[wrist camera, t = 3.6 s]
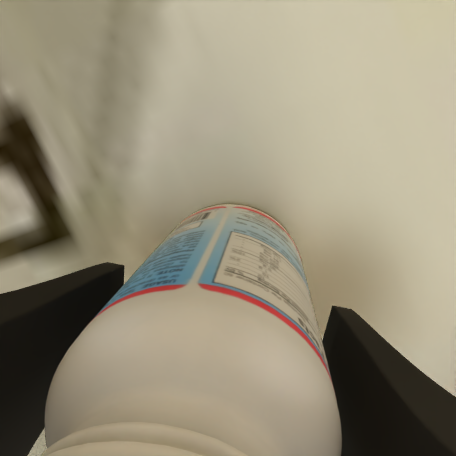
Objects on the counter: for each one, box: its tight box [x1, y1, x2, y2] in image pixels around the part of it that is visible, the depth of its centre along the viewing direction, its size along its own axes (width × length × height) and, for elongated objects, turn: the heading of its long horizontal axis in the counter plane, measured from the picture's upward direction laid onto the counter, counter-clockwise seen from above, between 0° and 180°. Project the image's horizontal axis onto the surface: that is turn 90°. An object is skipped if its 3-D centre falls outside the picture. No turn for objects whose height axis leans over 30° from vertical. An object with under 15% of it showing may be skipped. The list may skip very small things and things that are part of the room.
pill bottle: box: [41, 204, 342, 456], centre depth 9 cm, size 6×6×11 cm
